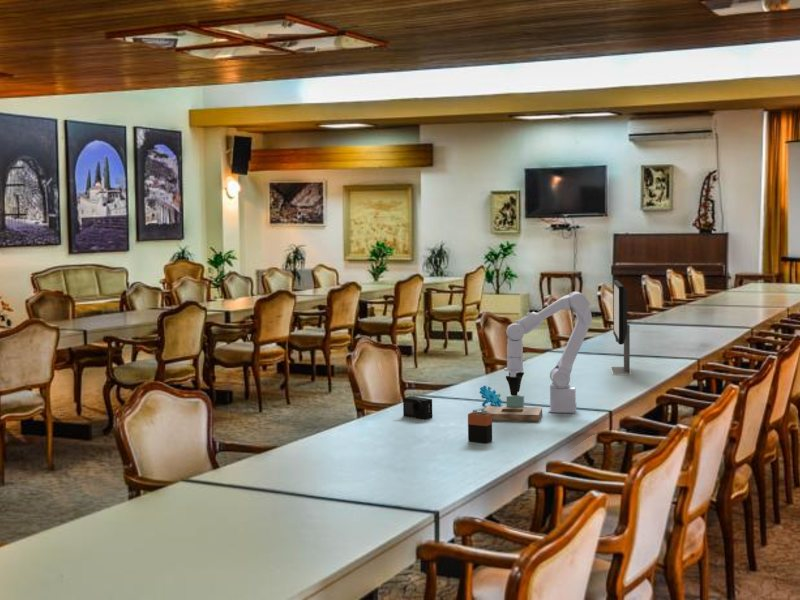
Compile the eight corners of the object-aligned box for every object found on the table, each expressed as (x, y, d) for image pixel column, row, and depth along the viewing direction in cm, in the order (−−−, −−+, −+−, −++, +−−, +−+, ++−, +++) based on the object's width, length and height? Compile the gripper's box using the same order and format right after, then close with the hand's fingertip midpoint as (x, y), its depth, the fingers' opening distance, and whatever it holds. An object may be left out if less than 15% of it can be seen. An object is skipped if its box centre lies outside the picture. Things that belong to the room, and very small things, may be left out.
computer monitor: (608, 364, 497) (608, 280, 493) (626, 364, 496) (626, 279, 492) (613, 378, 456) (613, 286, 453) (633, 378, 455) (633, 286, 452)
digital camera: (400, 417, 380) (400, 397, 379) (410, 414, 384) (410, 395, 383) (422, 420, 373) (422, 401, 372) (432, 418, 377) (432, 398, 376)
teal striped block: (524, 411, 387) (524, 394, 386) (523, 413, 383) (523, 396, 382) (507, 410, 388) (507, 394, 388) (506, 412, 384) (506, 396, 384)
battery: (486, 443, 333) (486, 412, 333) (467, 441, 337) (467, 410, 336) (492, 441, 337) (492, 410, 336) (474, 439, 341) (473, 408, 340)
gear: (490, 405, 390) (477, 384, 395) (480, 415, 393) (467, 394, 398) (509, 405, 398) (496, 384, 403) (499, 414, 401) (486, 394, 406)
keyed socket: (542, 414, 379) (542, 407, 379) (538, 422, 366) (538, 414, 366) (486, 413, 384) (486, 406, 384) (481, 420, 370) (481, 413, 370)
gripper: (506, 353, 392) (506, 389, 393) (501, 359, 378) (501, 396, 379) (525, 354, 390) (525, 390, 391) (521, 359, 376) (521, 397, 377)
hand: (515, 393), depth 385 cm, fingers open, 7 cm apart
